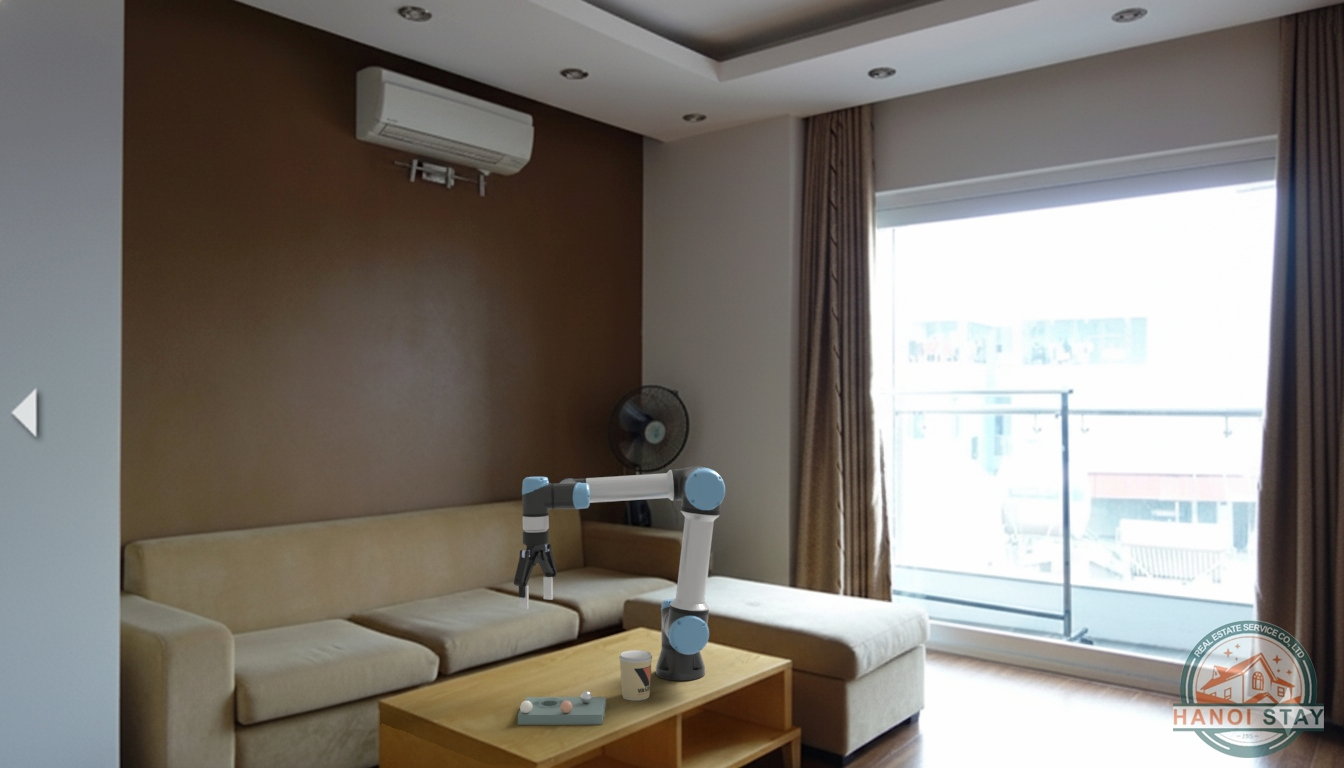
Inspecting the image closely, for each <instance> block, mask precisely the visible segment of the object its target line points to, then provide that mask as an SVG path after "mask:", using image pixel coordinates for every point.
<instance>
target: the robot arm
mask: <svg viewBox="0 0 1344 768" xmlns="http://www.w3.org/2000/svg"><path fill="white" fill-rule="evenodd" d="M521 496H522V497H521V501H522V502H521V504H522V508H521V509H522V529H523V532H522V544H523V545H524V546H526V549H520V550H519V559H518V562H517V563H518V564H517V567H516V570H515V576H514V580H513V584H514V586H517V587H518V609H519V610H529V608H530V605H529V604H530V603H529V602H530V601H529V599H530V598H529V597H530V596H529V595H530V594H529V593H530V592H529V588H530V587H529V585H528V583H529V579H530V577H531V575H532V572H533V569H534V567H535V566H536V565H537V564H539V566H540V568H541V571H542V572H543V574H544V576H543V577H542V578H543V584H542V585H543V600H550V601H551V600H554V596H553V595H554V589H553V588H554V583H553V582H554V581H553V579H554V578H555V577H556V576H557V573H558V569H557V565H556V562H555V559H554V556H553V552H552V544H551V543H549V541H550V533H549V531H548V529H549V528H550V525H549V524H550V522H549V510H581V509H582V510H583V509H588V508H589V507H590V504H591V503H607V502H608V503H609V502H621V501H622V502H623V501H637V500H640V501H641V500H654V499H657V500H658V499H669V500H670V501H672V502H675V501H676V502H677V501H681V505H680V513H682V515H683V516H684V523H683V524H684V525H683V533H682V540H681V541H682V542H681V550H680V559H679V567H678V575H677V576H678V577H677V586H676V592H675V593H676V594H675V598H667V599H664V600H662V602H661V607H660V611H661V650H660V652H659V655H658V659H657V662H656V665H655V674H656V676H657V677H659V678H661V679H663V680H668V681H692V680H693V681H694V680H697V679H700V678H702V677H704V676H705V675H706V666H705V664H704V663H705V662H704V660H703V657H702V654H701V651H702V650H703V649H704V648H705V647H706V646H707V644H708V643H709V639H710V638H709V637H710V629H709V626H708V621H709V614H710V613H709V610H710V607H709V605H708V604H707V603H706V594H707V593H706V592H707V585H708V584H707V583H708V575H709V567H710V566H709V565H710V558H711V549H712V542H713V541H712V540H713V532H714V524H715V523H714V522H715V520H716V519H718V518H719V517H720V513H721V505H722V503H723V500H724V499H725V496H726V484H725V482H724V479H723V478H722V476H721V475H720V474H719V473H718V472H717V471H716V470H714V469H712V468H708V467H706V466H702V465H695V466H689V467H688V466H687V467H685V468H683V467H681V468H676V469H669V470H668V471H667V472H665V473H652V474H635V475H634V474H633V475H618V476H603V477H587V478H564V479H563V480H561V481H560V482H559V483H551V482H549V478H548V477H547V476H529V477H528V476H526V477H525V478H523V480H522V486H521ZM553 577H554V578H553Z"/></svg>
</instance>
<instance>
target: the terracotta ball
mask: <svg viewBox="0 0 1344 768" xmlns="http://www.w3.org/2000/svg"><path fill="white" fill-rule="evenodd" d="M560 709H561V711H562V712H563V713H569V712H570V711H571V710H572V703H571V702H570V701H567V700H566V701H563V702H562V703H561V705H560Z"/></svg>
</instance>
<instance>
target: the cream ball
mask: <svg viewBox="0 0 1344 768" xmlns="http://www.w3.org/2000/svg"><path fill="white" fill-rule="evenodd" d="M519 709H521V711H522V712H523V713H529V712H531V710H532V703H531V702H530V701H525V700H523V701H522V702H521V704H520V705H519Z"/></svg>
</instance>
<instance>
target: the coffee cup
mask: <svg viewBox="0 0 1344 768" xmlns="http://www.w3.org/2000/svg"><path fill="white" fill-rule="evenodd" d="M618 659H619V666H620V667H619V668H620V680H621V681H620V684H621V696H622V698H623V699H624V700H628V701H643V700H647V699H649V697H650V693H651V690H650V689H651V678H652V677H651V675H652V660H653V655H652V653H651V652H650V651H647V650H640V649H633V650H631V649H630V650H625V651H623V652H621V653H620V656H619V658H618Z"/></svg>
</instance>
